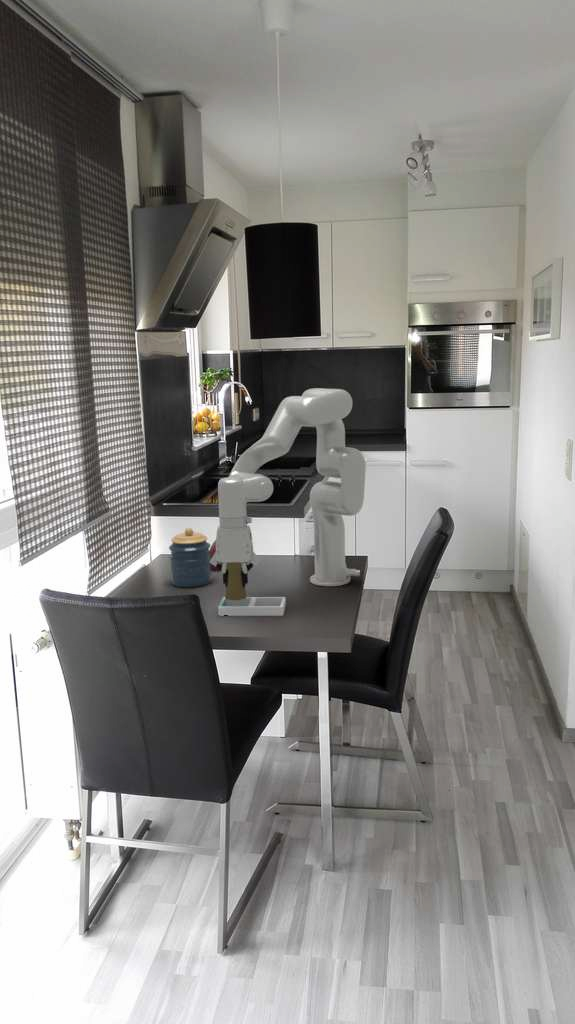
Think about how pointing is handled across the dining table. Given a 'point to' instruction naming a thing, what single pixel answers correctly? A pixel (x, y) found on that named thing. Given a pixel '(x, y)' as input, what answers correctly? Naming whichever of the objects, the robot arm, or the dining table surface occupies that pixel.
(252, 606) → the white divided tray
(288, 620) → the dining table surface
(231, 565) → the cork
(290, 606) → the dining table surface
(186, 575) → the canister
